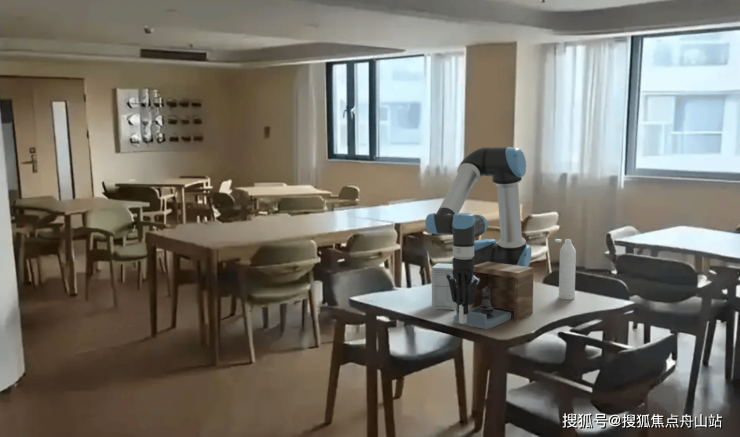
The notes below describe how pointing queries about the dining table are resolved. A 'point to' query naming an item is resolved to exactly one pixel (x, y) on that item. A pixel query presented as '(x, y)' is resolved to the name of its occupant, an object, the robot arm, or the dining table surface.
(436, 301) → the supplement box
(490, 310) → the dark grey figurine
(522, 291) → the wooden crate
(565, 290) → the water bottle
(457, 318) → the tray
